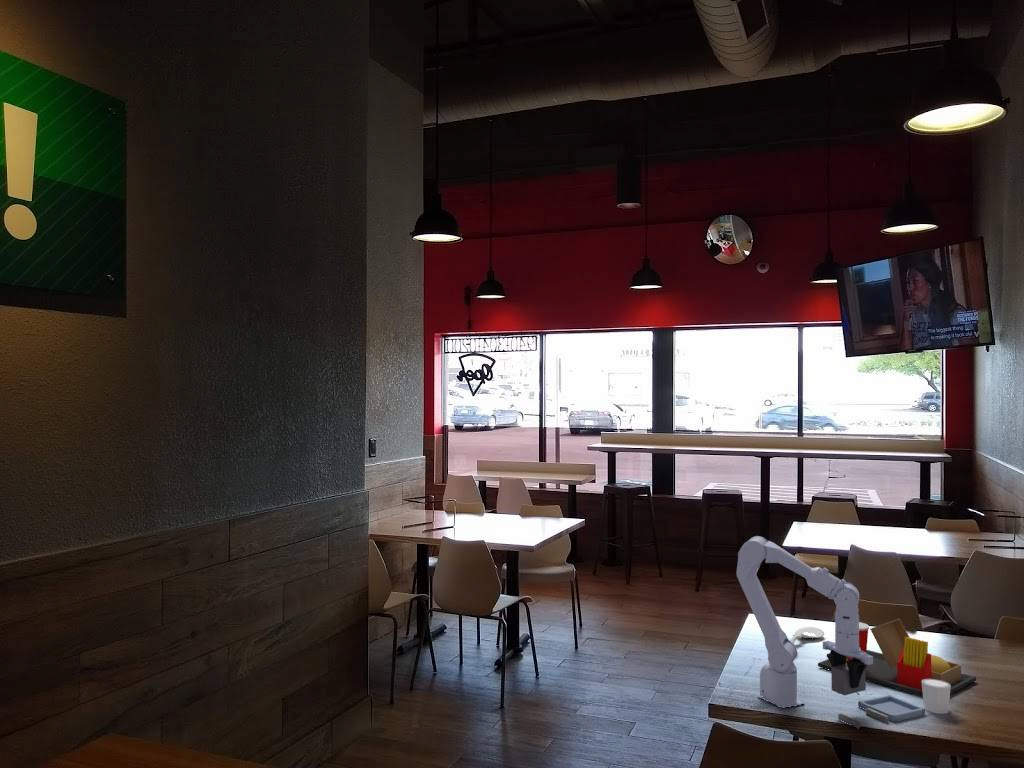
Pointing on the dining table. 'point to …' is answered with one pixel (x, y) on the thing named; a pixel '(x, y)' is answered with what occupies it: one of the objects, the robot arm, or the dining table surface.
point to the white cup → (936, 695)
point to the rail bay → (868, 711)
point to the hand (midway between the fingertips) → (847, 684)
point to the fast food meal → (905, 661)
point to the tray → (892, 707)
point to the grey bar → (844, 680)
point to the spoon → (814, 630)
